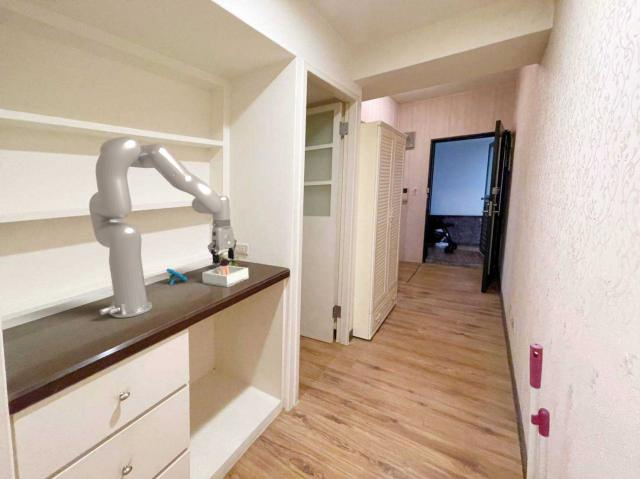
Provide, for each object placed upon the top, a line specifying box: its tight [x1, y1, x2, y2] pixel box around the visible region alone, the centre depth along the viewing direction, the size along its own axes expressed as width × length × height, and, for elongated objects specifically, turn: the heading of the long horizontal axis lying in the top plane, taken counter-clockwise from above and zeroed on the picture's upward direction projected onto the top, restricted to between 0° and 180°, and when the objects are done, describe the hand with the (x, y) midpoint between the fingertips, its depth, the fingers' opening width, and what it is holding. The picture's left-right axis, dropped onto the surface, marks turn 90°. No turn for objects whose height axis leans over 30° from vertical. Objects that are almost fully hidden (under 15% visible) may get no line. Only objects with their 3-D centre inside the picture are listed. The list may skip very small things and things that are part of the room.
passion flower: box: [211, 249, 240, 268], centre depth 160 cm, size 11×11×12 cm
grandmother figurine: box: [219, 251, 231, 275], centre depth 139 cm, size 8×4×13 cm, turn 170°
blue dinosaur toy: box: [165, 267, 189, 285], centre depth 138 cm, size 11×6×10 cm
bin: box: [201, 265, 250, 288], centre depth 140 cm, size 14×14×5 cm
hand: (223, 260), depth 138 cm, fingers open, 9 cm apart
